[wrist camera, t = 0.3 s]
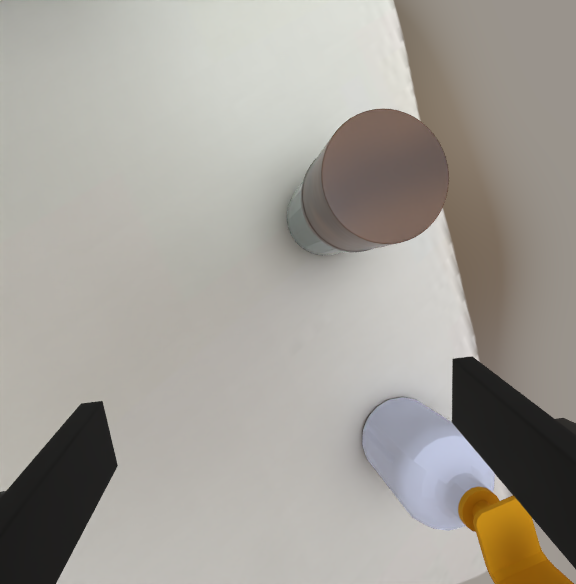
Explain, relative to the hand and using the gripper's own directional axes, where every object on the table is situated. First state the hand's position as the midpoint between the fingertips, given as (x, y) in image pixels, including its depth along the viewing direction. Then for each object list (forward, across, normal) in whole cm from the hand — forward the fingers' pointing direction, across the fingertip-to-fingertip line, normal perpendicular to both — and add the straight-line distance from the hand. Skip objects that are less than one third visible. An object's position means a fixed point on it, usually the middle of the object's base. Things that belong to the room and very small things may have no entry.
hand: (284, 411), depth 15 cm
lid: (+22, +7, +7) cm, 24 cm away
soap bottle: (+26, +13, -20) cm, 35 cm away
